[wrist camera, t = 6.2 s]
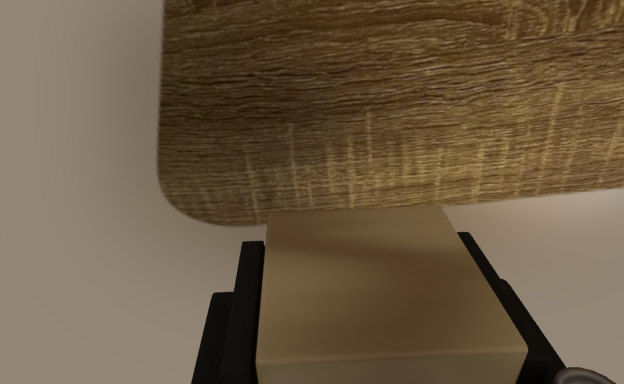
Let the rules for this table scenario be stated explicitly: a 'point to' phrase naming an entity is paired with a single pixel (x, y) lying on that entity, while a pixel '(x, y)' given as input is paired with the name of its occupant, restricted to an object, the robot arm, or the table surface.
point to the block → (379, 302)
